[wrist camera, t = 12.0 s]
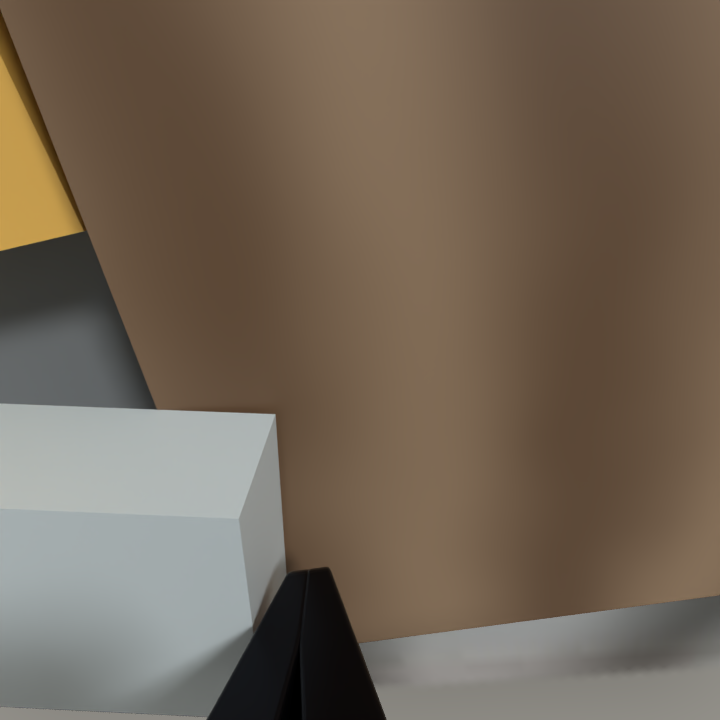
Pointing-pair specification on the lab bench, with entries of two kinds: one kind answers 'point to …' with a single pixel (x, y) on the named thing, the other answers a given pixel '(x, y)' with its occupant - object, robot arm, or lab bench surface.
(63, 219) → the amber slide box
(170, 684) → the pale blue slide box
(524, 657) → the lab bench surface
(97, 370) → the slate mat
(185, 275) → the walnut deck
